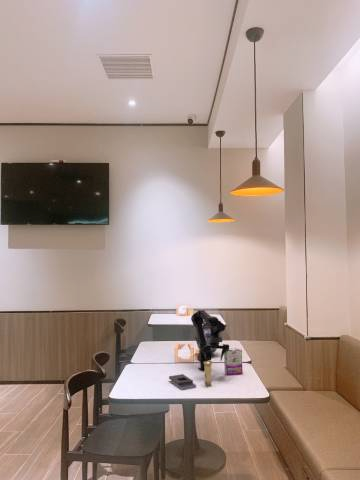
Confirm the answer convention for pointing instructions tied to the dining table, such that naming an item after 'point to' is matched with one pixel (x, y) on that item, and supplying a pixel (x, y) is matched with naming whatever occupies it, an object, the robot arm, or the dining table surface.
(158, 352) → the dining table surface
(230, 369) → the candy bar box
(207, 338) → the decorative vase
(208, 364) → the brass pin
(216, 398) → the dining table surface
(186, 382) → the grey rectangular frame
